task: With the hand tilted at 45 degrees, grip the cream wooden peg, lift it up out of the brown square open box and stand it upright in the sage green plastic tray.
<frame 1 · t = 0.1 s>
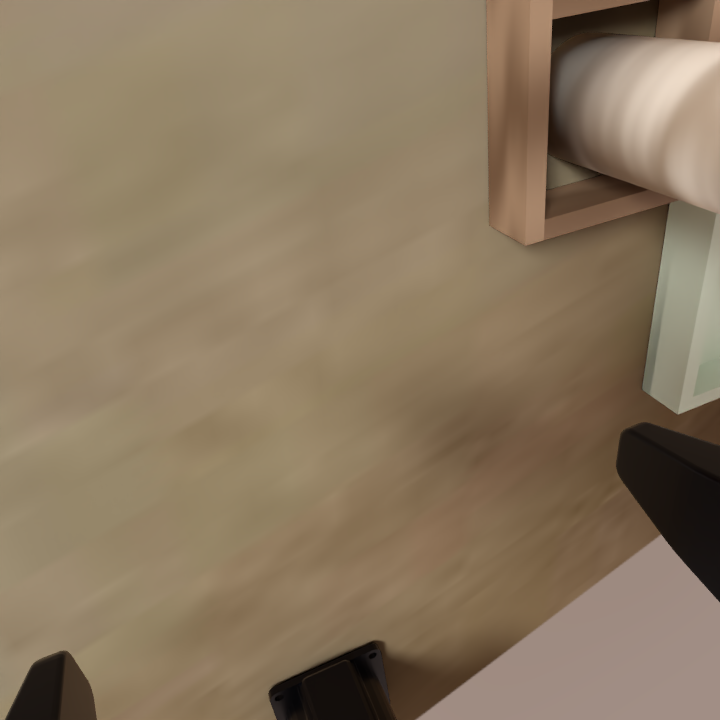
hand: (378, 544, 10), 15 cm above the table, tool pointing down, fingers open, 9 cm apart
brown square open box: (580, 98, 24), on the table
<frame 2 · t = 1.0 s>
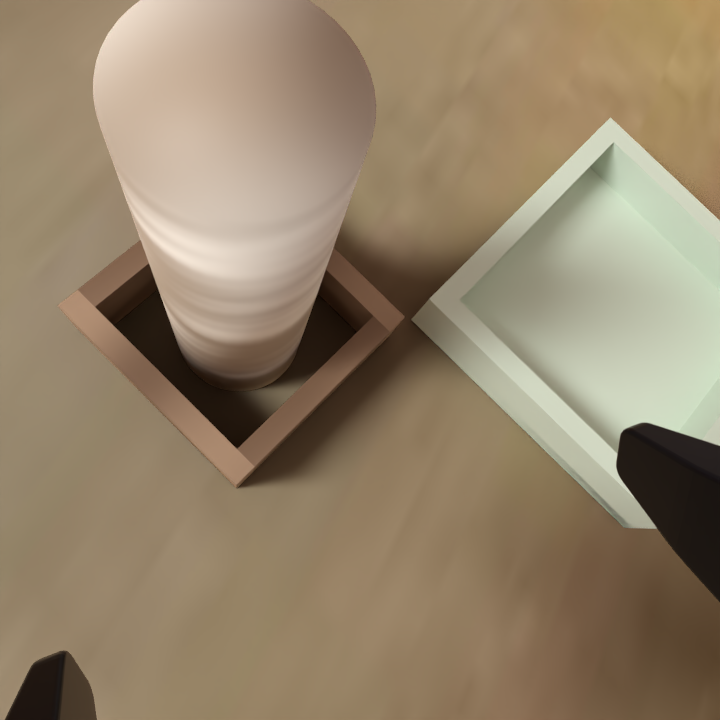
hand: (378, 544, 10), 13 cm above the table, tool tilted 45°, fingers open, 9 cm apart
tray: (600, 325, 26), on the table
brown square open box: (239, 332, 24), on the table
peg: (239, 259, 17), in the brown square open box
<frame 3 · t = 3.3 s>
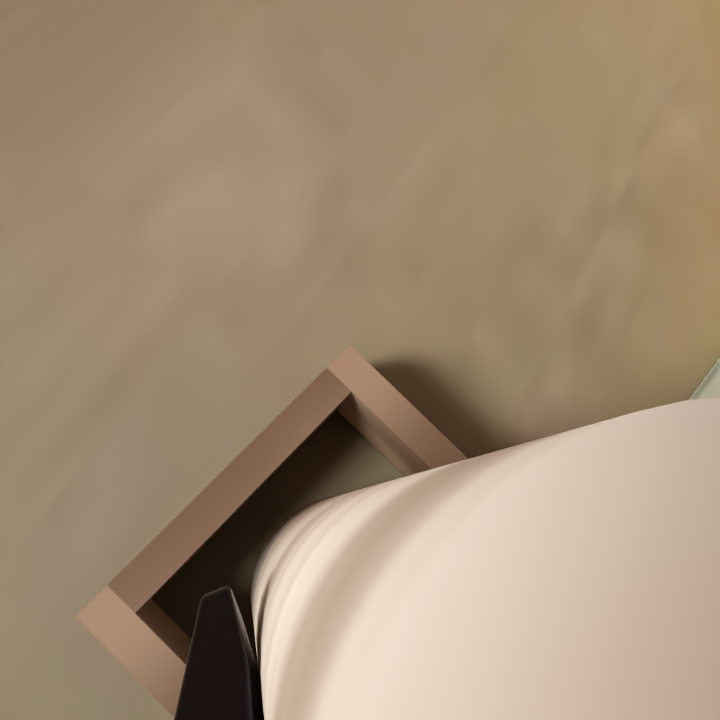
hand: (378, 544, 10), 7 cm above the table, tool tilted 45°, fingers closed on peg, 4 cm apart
brown square open box: (340, 588, 16), on the table
peg: (411, 635, 9), in the brown square open box, touching gripper
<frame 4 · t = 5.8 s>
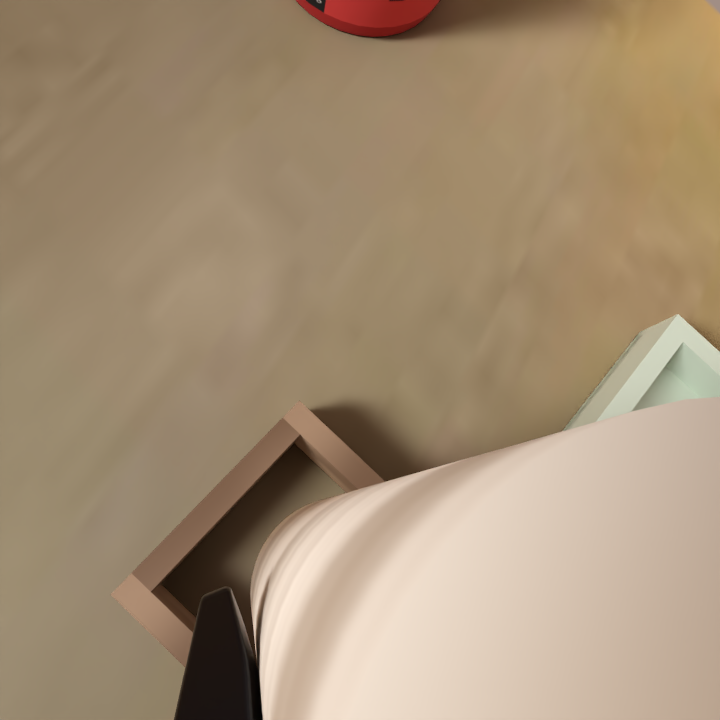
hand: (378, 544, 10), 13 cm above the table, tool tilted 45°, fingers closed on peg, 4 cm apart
tray: (671, 530, 25), on the table
brown square open box: (297, 574, 22), on the table
peg: (410, 635, 9), point 14 cm above the table, touching gripper
when the fingers open (8 cm above the table, at t = 8.6 s): peg stays where it is, resting on tray.
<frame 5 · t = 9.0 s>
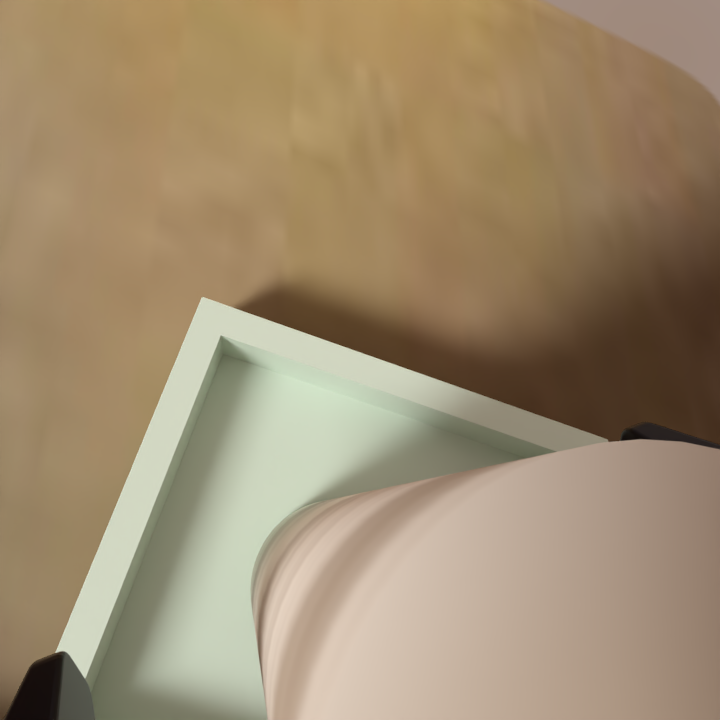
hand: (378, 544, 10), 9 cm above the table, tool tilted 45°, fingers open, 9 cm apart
tray: (332, 582, 17), on the table
peg: (398, 629, 10), in the tray, point 8 cm above the table
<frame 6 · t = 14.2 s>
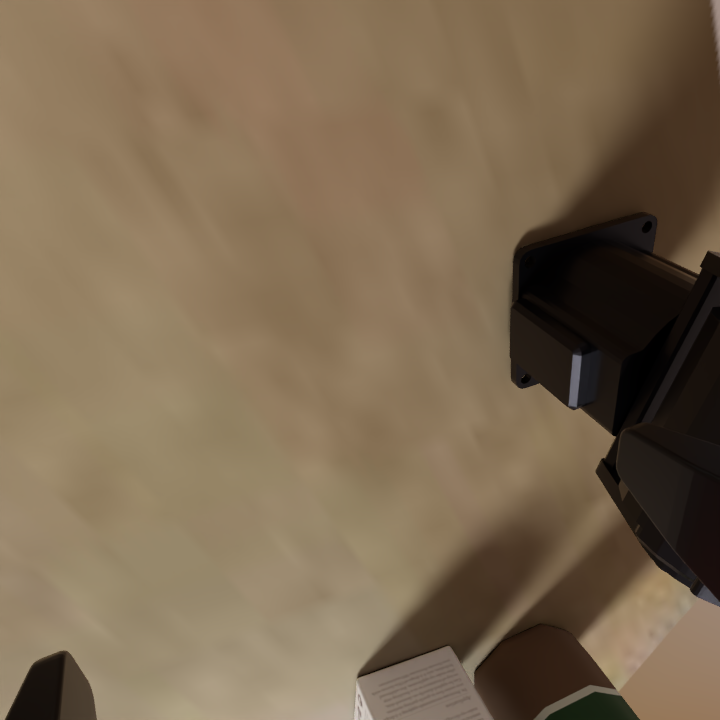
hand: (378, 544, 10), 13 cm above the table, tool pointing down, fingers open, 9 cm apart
skincare box: (400, 678, 37), on the table
beer bottle: (518, 660, 41), on the table
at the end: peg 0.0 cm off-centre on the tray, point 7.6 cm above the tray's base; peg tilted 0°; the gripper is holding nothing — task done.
